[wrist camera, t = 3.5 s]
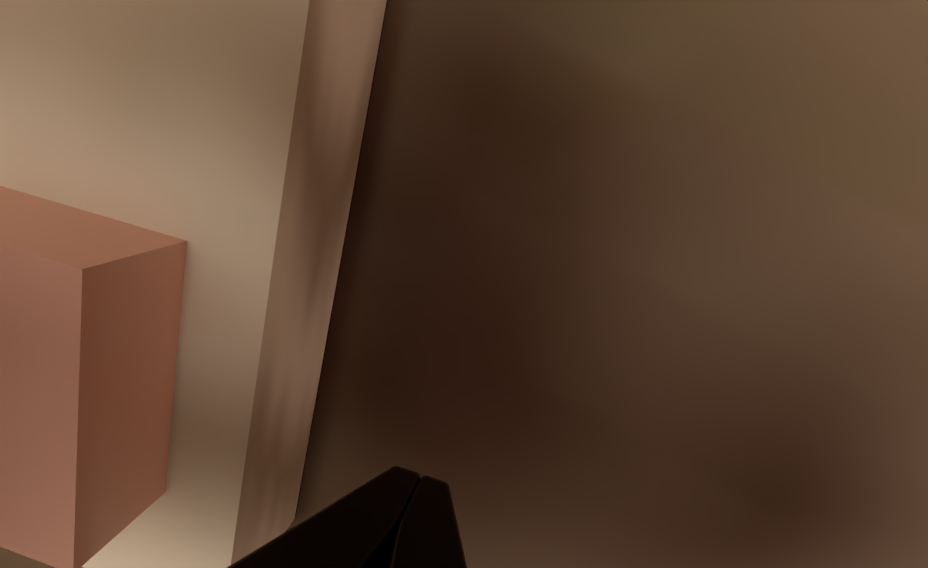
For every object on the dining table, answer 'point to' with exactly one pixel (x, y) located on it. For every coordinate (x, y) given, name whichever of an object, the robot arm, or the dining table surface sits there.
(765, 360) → the dining table surface
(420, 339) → the dining table surface
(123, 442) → the tile
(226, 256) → the large cream board
